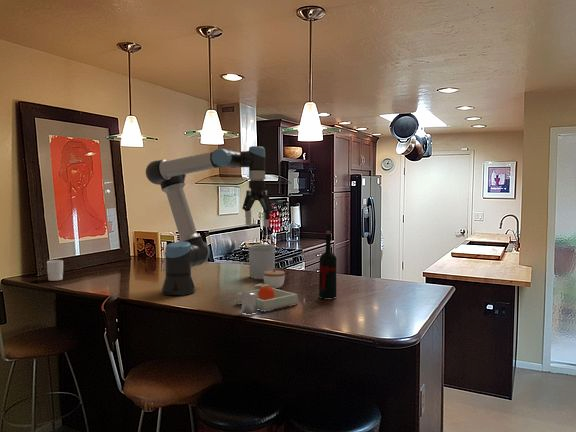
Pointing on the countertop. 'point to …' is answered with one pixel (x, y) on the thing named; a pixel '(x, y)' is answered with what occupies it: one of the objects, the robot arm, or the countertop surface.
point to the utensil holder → (261, 259)
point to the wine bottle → (327, 271)
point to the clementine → (266, 293)
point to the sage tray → (279, 299)
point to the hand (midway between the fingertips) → (257, 225)
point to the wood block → (259, 286)
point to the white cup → (55, 270)
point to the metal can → (249, 302)
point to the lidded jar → (274, 278)
